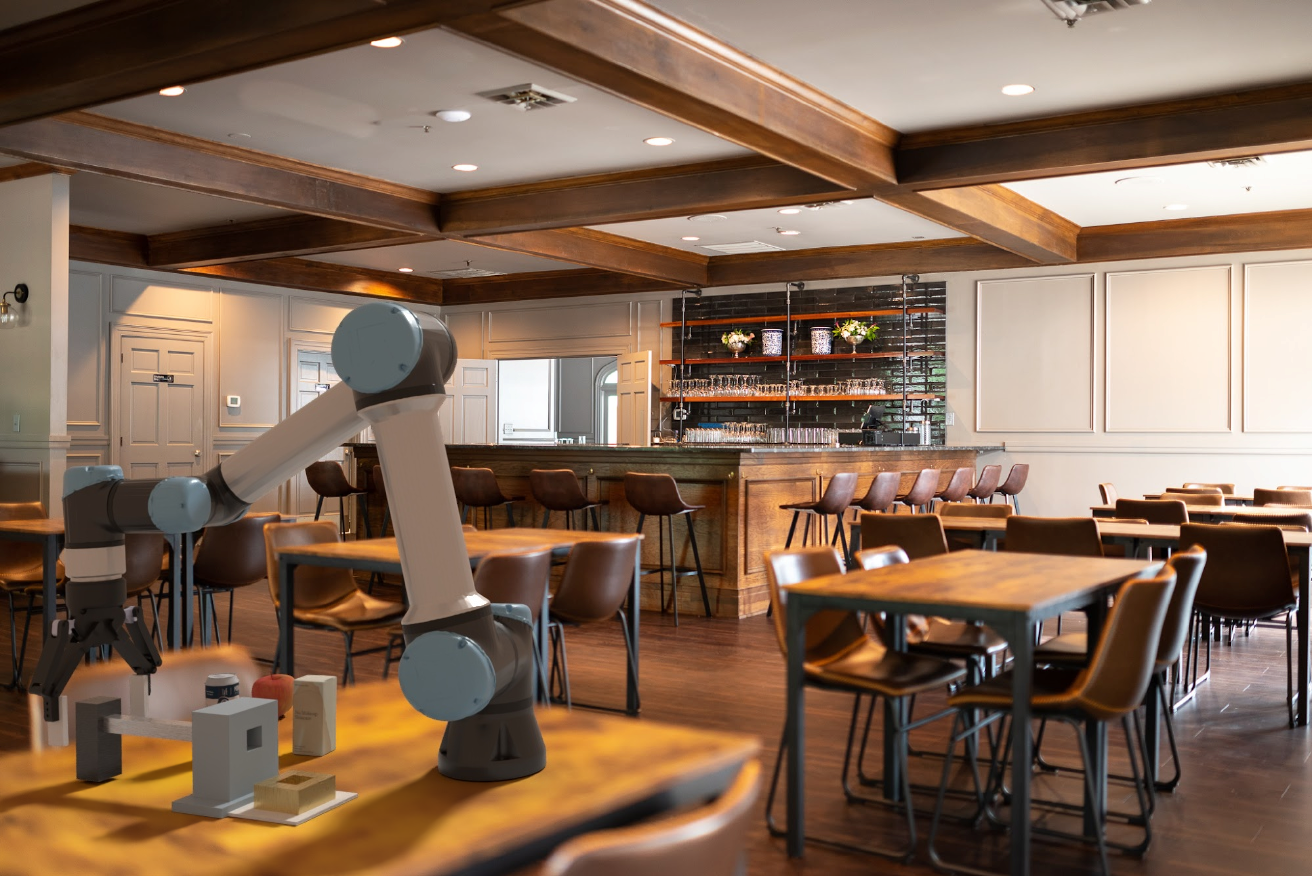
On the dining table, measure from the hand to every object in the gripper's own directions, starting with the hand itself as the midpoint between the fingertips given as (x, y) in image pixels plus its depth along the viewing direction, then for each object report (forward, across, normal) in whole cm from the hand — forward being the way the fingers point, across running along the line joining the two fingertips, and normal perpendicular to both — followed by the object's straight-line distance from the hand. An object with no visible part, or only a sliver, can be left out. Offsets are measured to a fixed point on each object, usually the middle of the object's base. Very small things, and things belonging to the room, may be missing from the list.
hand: (100, 732), depth 159 cm
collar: (+5, 0, +33) cm, 33 cm away
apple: (+7, -38, -3) cm, 39 cm away
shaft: (+6, 0, +10) cm, 11 cm away
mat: (+7, 0, +32) cm, 33 cm away
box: (+7, -22, +18) cm, 29 cm away
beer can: (+7, -15, +7) cm, 18 cm away
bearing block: (+7, 0, +23) cm, 24 cm away
